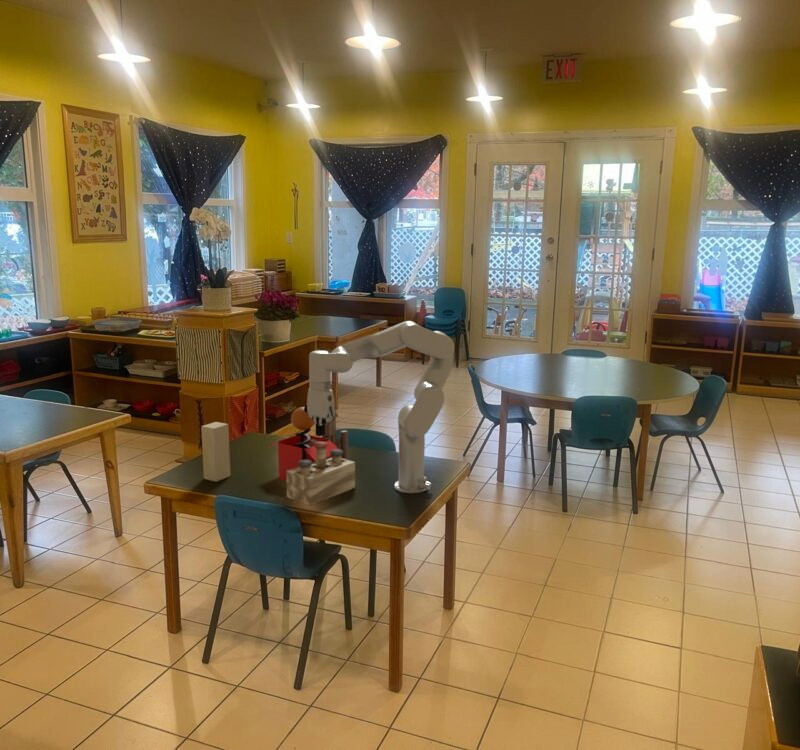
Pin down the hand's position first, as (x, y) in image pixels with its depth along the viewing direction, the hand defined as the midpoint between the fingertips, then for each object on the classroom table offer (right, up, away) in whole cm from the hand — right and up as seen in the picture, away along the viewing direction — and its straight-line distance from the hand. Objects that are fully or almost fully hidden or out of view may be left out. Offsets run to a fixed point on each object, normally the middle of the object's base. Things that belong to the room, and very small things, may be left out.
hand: (320, 435), depth 264 cm
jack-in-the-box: (-8, -18, +21) cm, 29 cm away
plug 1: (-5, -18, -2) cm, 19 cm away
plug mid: (0, -12, +3) cm, 12 cm away
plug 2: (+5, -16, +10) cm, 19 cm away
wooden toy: (+2, -15, +35) cm, 38 cm away
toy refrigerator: (-42, -18, +19) cm, 50 cm away
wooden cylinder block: (0, -21, +5) cm, 22 cm away
